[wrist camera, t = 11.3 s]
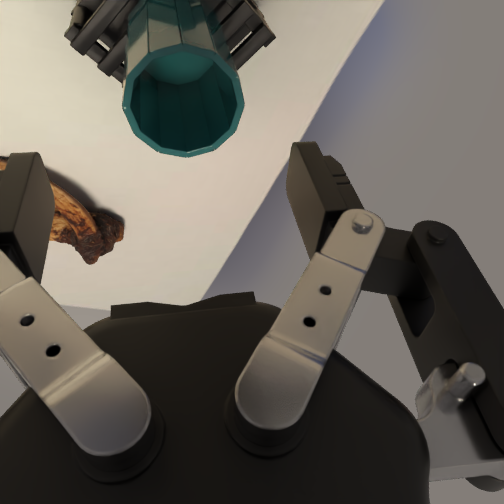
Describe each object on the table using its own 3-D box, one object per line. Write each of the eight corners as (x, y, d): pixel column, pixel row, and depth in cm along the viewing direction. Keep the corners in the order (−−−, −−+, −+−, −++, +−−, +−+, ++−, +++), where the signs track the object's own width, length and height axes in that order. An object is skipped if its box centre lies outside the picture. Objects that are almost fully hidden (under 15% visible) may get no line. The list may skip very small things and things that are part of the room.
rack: (162, -113, 29) (167, -94, 24) (259, 7, 35) (278, 41, 30) (73, 3, 32) (62, 39, 28) (174, 93, 39) (180, 134, 34)
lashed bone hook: (134, 177, 45) (-78, 140, 38) (135, 205, 42) (-96, 171, 35) (119, 243, 50) (-67, 222, 43) (119, 272, 47) (-82, 255, 40)
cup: (171, -37, 26) (181, 15, 20) (240, 40, 30) (266, 104, 24) (106, 40, 28) (97, 108, 22) (178, 102, 32) (187, 175, 26)
